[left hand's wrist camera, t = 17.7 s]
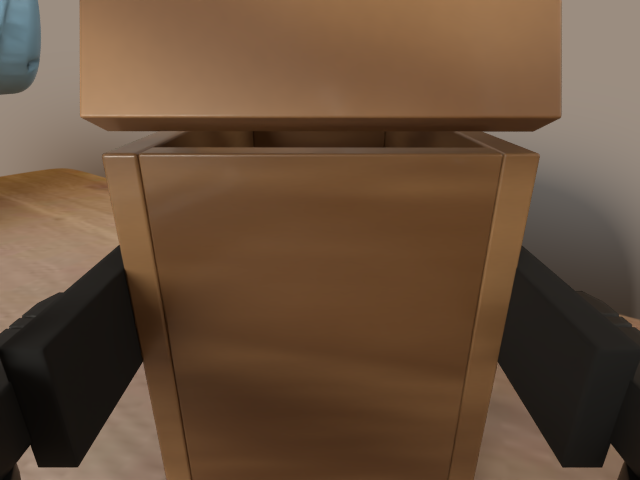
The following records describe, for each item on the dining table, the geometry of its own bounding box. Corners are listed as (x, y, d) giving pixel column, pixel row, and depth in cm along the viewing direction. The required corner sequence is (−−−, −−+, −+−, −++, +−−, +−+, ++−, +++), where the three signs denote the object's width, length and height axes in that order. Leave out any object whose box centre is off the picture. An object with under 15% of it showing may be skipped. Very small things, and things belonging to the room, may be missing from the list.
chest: (251, 268, 28) (239, 98, 24) (386, 268, 28) (398, 98, 24) (170, 508, 13) (99, 153, 9) (468, 507, 13) (542, 153, 9)
